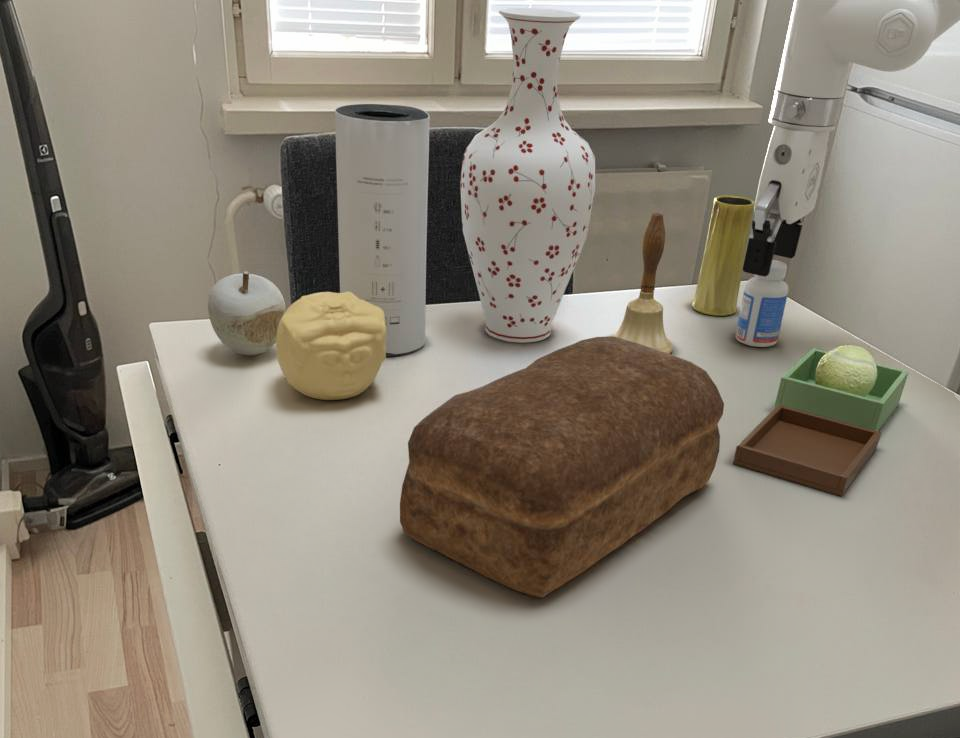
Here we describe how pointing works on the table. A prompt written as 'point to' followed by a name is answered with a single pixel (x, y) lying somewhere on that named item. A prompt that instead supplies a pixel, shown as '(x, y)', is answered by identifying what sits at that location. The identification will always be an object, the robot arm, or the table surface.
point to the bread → (560, 461)
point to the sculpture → (331, 345)
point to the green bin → (841, 394)
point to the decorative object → (246, 312)
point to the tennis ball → (847, 370)
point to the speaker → (384, 214)
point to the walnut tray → (807, 449)
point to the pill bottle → (763, 307)
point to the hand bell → (648, 295)
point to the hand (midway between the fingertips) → (768, 264)
